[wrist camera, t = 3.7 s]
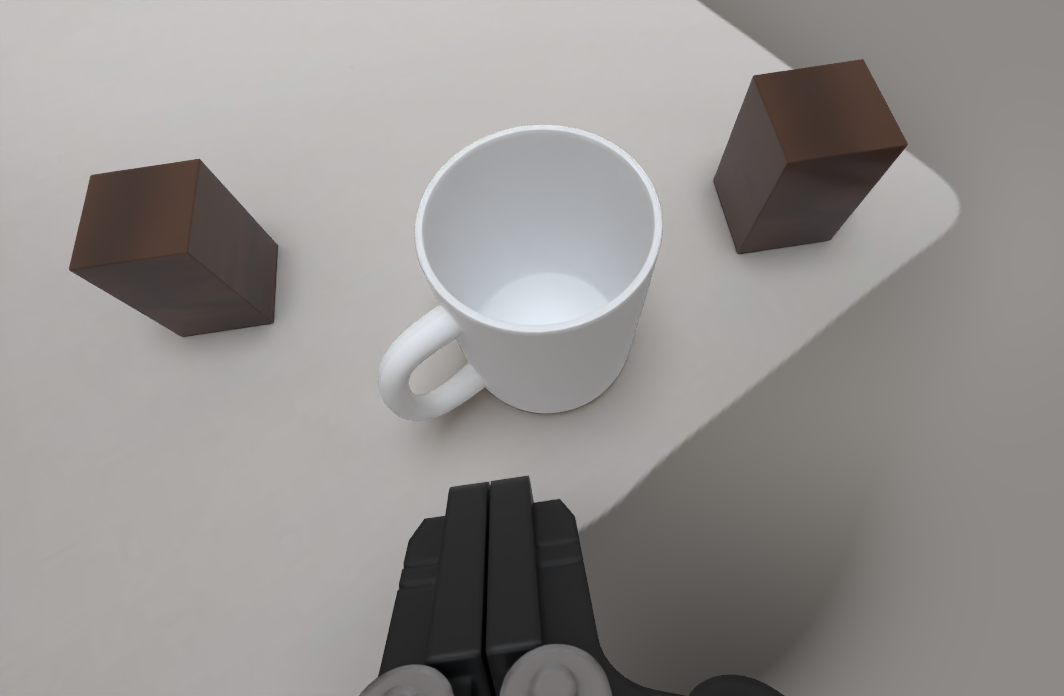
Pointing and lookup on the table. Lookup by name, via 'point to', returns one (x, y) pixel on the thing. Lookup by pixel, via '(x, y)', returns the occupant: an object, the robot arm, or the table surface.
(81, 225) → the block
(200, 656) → the table surface
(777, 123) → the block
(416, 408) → the cup
